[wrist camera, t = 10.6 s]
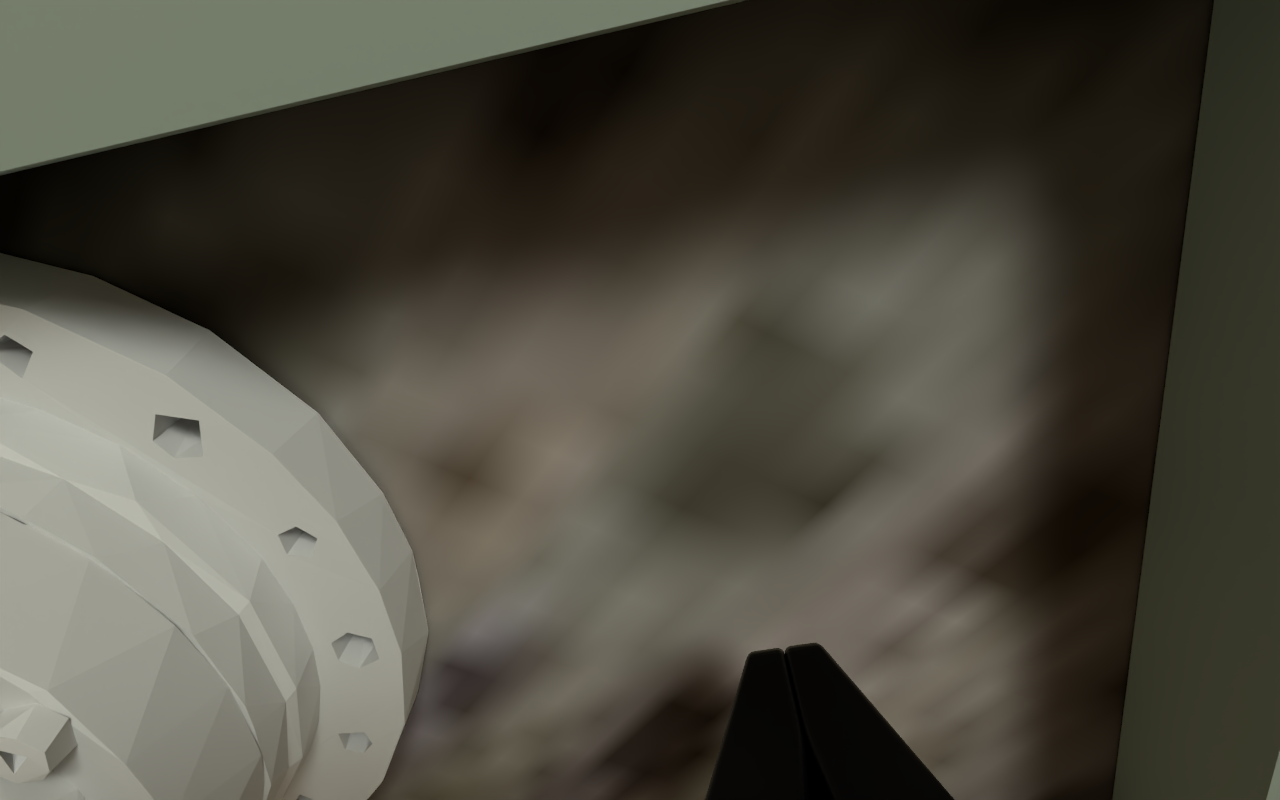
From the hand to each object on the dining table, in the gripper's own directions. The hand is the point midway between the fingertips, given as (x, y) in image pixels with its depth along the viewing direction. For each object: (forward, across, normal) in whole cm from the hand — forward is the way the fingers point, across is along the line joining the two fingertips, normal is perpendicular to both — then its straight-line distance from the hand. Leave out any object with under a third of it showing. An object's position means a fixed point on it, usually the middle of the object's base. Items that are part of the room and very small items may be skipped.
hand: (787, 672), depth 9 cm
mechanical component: (+2, +10, -2) cm, 10 cm away
